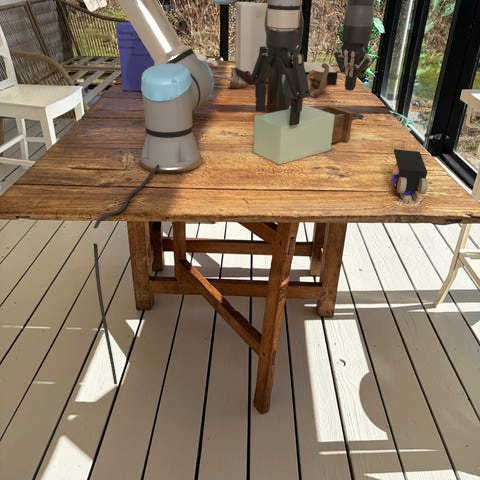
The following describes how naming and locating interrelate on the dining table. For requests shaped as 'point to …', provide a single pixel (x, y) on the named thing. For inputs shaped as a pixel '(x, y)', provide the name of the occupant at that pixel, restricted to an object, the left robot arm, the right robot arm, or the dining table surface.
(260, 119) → the pale green rectangular box
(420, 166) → the figurine character
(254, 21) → the tall white carton
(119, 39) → the cereal box
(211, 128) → the dining table surface
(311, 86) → the anatomical model
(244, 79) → the figurine
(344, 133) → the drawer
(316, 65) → the disc drive
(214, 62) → the toy
